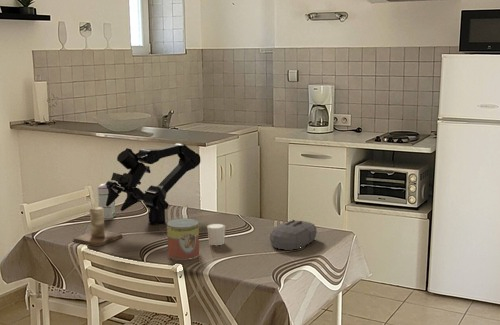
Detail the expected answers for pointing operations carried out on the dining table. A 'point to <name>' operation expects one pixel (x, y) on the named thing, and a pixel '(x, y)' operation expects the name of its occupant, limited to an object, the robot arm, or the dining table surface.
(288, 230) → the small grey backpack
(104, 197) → the white plastic bottle
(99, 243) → the walnut board
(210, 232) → the white short cylinder
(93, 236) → the birch peg
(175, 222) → the canned food
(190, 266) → the dining table surface
